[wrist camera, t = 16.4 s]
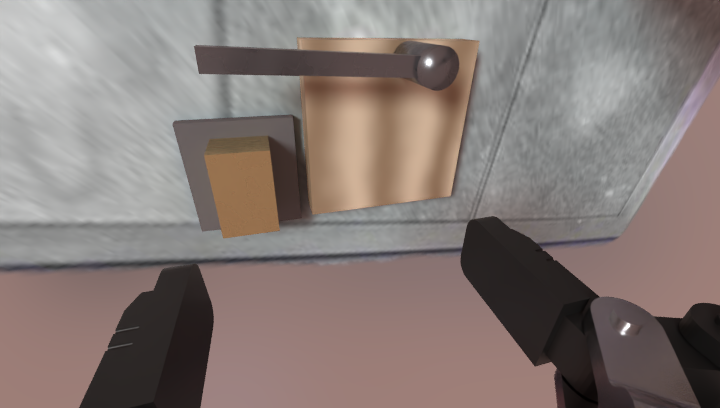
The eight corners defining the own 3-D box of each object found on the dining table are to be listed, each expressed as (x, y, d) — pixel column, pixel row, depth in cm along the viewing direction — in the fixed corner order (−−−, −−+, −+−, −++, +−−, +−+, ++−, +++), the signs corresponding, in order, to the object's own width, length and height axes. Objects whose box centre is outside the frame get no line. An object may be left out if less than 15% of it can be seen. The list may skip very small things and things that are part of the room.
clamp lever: (426, 41, 27) (463, 46, 22) (421, 78, 29) (454, 90, 24) (202, 28, 22) (189, 32, 18) (209, 74, 24) (199, 88, 19)
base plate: (461, 38, 31) (479, 40, 29) (437, 184, 39) (450, 196, 37) (297, 37, 27) (301, 39, 25) (308, 200, 35) (312, 214, 33)
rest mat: (291, 114, 30) (292, 117, 29) (300, 213, 36) (301, 217, 35) (174, 120, 28) (172, 124, 27) (203, 226, 33) (202, 231, 32)
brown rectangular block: (267, 135, 30) (269, 150, 26) (276, 209, 34) (279, 230, 30) (209, 139, 28) (204, 155, 25) (226, 215, 32) (223, 238, 29)
